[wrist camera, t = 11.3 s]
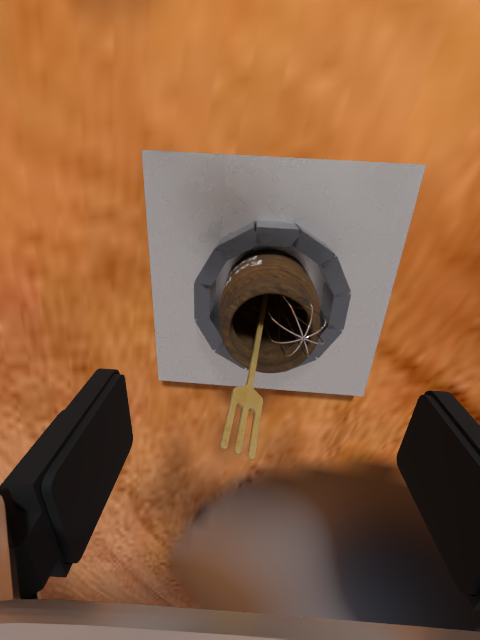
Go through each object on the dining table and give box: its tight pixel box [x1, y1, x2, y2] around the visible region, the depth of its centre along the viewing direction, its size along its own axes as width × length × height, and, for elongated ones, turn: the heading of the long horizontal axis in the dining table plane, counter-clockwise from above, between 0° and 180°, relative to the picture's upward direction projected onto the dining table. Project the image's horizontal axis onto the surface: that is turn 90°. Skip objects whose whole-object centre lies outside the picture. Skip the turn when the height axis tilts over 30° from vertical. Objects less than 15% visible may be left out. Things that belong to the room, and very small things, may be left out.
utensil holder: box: [219, 249, 326, 460], centre depth 16 cm, size 6×6×12 cm
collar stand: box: [142, 150, 426, 396], centre depth 21 cm, size 17×17×4 cm
